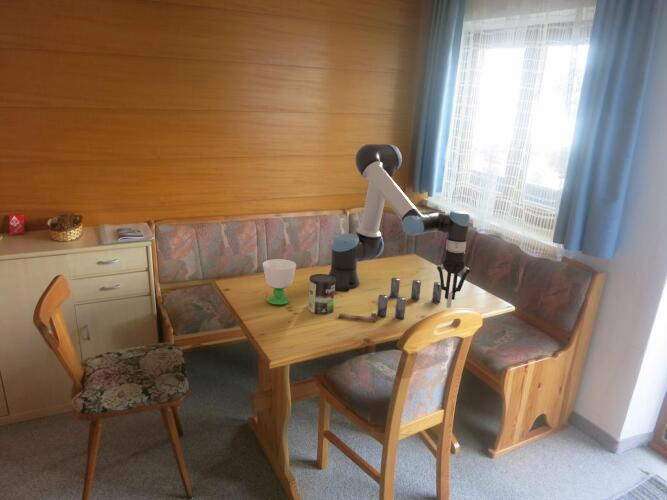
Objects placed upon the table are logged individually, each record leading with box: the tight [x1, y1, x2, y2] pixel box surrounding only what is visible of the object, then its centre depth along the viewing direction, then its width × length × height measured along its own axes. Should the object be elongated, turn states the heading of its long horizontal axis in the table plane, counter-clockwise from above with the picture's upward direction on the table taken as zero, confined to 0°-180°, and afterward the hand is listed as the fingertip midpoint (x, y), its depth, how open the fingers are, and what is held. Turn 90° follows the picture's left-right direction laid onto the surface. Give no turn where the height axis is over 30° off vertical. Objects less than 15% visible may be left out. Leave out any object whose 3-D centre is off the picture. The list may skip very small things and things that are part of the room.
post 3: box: [394, 296, 407, 321], centre depth 188 cm, size 4×4×9 cm
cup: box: [262, 258, 297, 305], centre depth 199 cm, size 14×14×16 cm
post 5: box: [431, 281, 443, 304], centre depth 208 cm, size 4×4×9 cm
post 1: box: [376, 294, 389, 319], centre depth 189 cm, size 4×4×9 cm
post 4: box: [410, 279, 422, 301], centre depth 209 cm, size 4×4×9 cm
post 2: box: [389, 276, 401, 299], centre depth 210 cm, size 4×4×9 cm
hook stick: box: [338, 312, 377, 323], centre depth 187 cm, size 14×6×2 cm, turn 83°
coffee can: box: [307, 273, 336, 316], centre depth 190 cm, size 10×10×14 cm
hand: (448, 306), depth 197 cm, fingers closed
